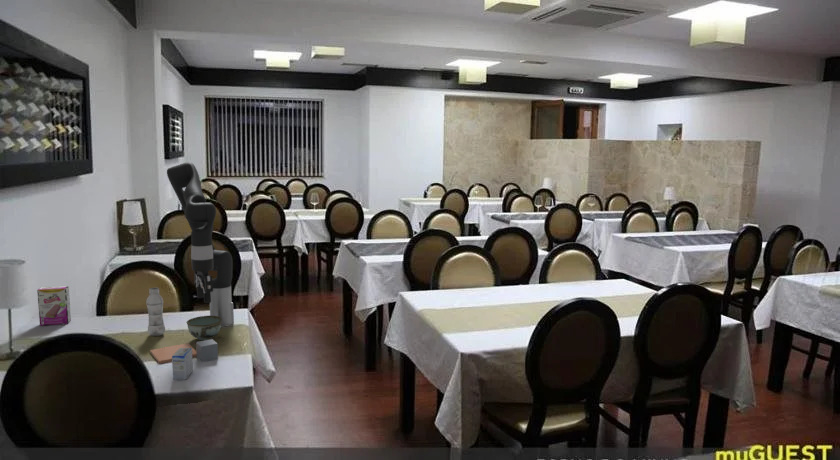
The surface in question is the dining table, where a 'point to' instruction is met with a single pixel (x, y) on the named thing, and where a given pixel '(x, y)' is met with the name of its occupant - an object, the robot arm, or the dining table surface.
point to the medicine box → (182, 363)
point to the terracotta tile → (169, 352)
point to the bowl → (204, 327)
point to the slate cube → (207, 350)
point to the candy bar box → (54, 305)
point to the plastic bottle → (155, 313)
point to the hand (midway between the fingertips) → (203, 300)
